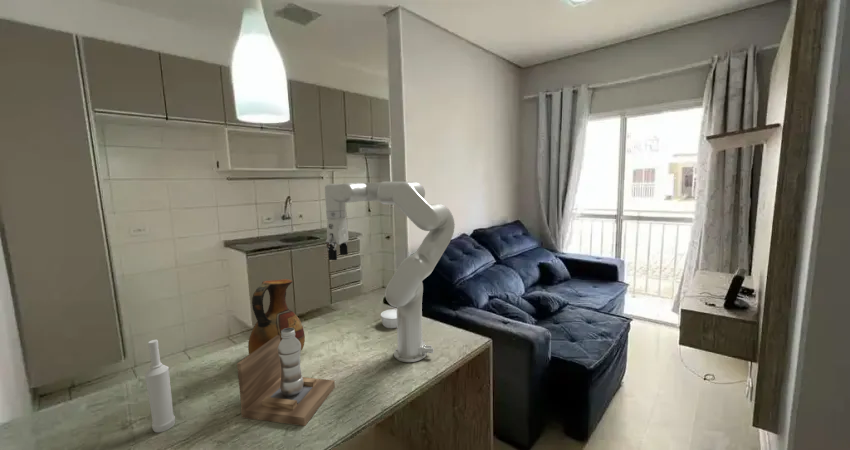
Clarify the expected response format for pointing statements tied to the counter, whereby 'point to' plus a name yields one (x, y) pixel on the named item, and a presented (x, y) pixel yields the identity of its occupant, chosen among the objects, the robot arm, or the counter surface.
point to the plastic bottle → (290, 363)
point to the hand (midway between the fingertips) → (338, 257)
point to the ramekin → (389, 318)
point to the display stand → (276, 389)
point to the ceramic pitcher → (273, 315)
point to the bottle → (159, 391)
